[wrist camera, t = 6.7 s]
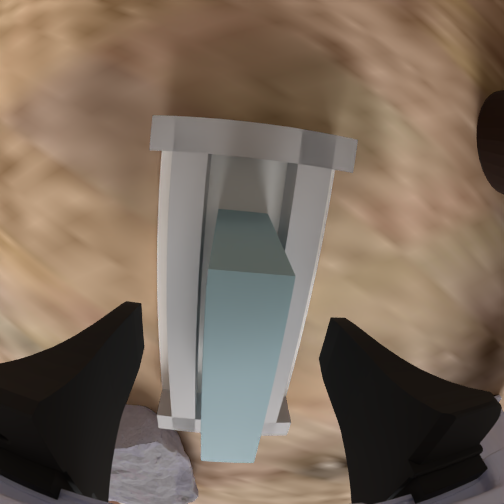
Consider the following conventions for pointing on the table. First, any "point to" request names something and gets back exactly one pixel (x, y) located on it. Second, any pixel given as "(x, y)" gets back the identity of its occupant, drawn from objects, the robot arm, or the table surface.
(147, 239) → the table surface
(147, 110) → the table surface
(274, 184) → the rectangular tray
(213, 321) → the door panel
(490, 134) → the coffee mug
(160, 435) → the stone block
